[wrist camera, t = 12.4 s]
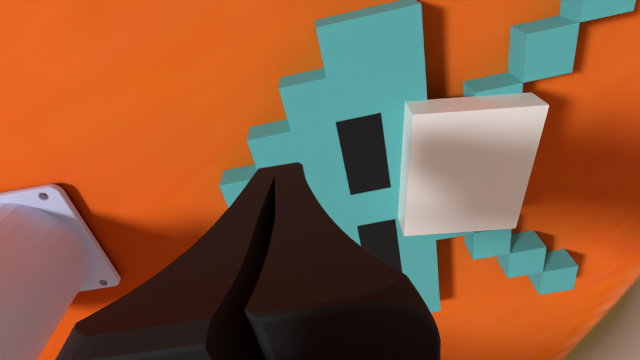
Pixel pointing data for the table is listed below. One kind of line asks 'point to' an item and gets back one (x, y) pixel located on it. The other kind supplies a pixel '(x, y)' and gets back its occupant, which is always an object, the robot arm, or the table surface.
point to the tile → (467, 162)
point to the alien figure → (387, 133)
